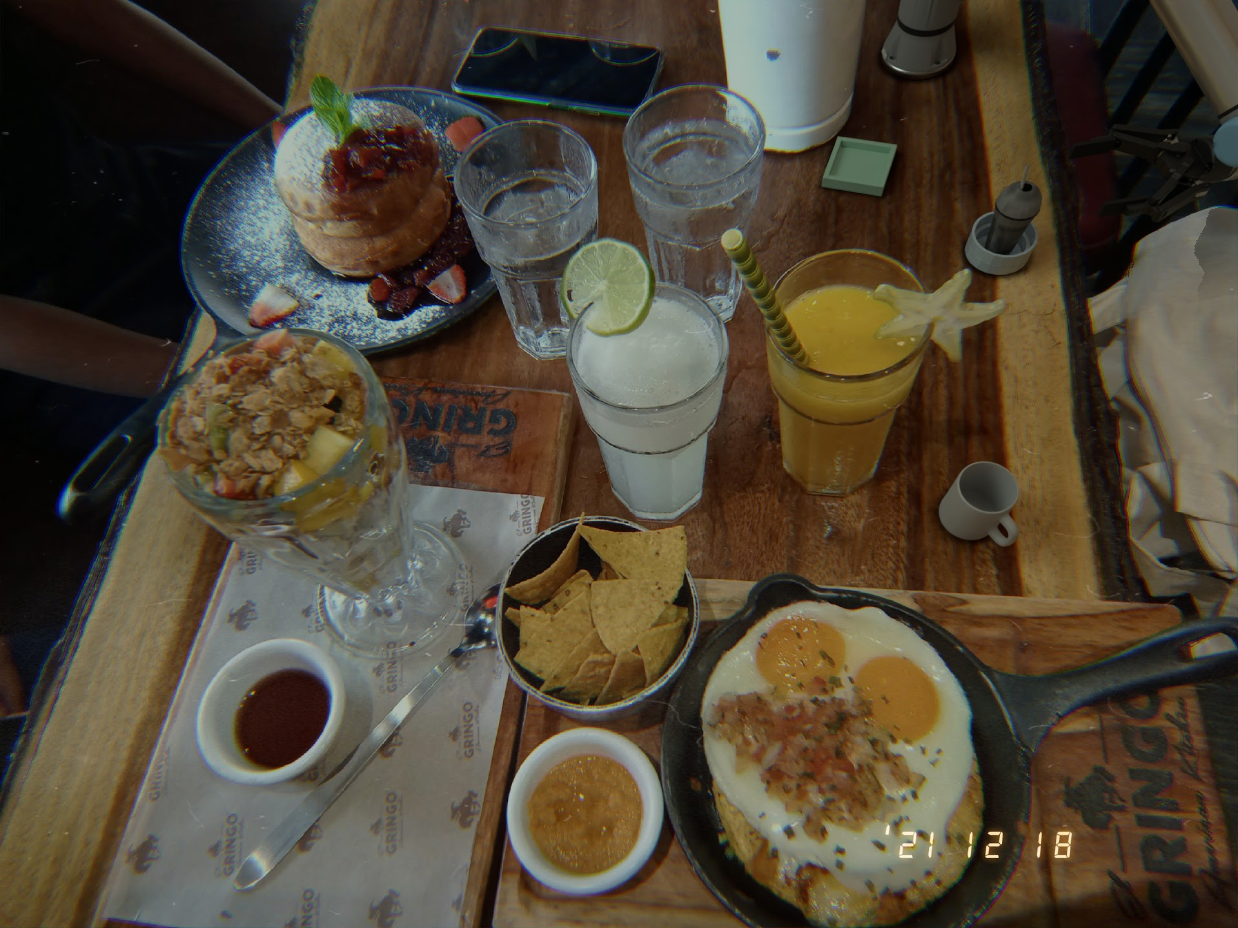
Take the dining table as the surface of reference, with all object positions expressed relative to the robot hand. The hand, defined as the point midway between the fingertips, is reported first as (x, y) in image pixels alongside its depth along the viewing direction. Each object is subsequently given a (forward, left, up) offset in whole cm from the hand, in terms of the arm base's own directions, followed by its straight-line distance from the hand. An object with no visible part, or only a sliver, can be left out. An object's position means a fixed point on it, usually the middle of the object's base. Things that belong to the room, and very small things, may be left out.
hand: (1085, 179), depth 121 cm
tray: (-11, -38, -15) cm, 42 cm away
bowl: (+4, -9, -15) cm, 18 cm away
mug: (+59, -3, -15) cm, 61 cm away
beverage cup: (+4, -9, -15) cm, 18 cm away
